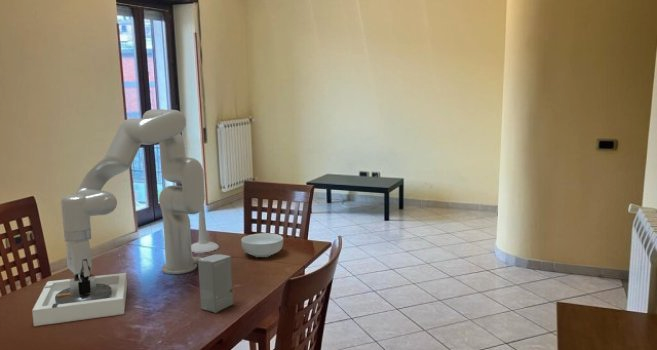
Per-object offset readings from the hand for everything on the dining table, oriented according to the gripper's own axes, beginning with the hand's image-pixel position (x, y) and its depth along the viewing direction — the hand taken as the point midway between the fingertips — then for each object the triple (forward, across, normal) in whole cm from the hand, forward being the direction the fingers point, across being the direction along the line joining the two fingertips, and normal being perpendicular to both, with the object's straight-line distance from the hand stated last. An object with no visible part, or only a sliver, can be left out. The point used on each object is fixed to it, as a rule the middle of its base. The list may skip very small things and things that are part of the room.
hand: (82, 291), depth 163 cm
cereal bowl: (+4, -4, +70) cm, 70 cm away
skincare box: (+5, +30, +30) cm, 43 cm away
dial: (+2, 0, 0) cm, 2 cm away
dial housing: (+4, 0, 0) cm, 4 cm away
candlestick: (+4, -28, +56) cm, 63 cm away
